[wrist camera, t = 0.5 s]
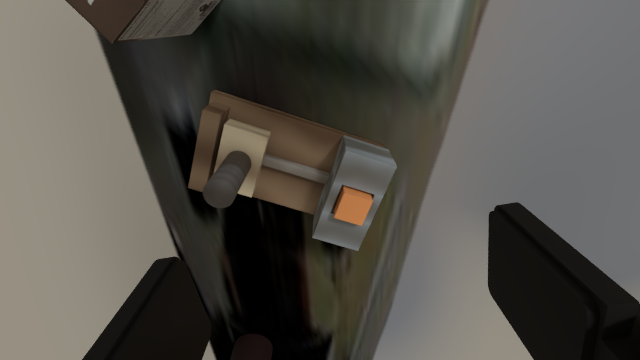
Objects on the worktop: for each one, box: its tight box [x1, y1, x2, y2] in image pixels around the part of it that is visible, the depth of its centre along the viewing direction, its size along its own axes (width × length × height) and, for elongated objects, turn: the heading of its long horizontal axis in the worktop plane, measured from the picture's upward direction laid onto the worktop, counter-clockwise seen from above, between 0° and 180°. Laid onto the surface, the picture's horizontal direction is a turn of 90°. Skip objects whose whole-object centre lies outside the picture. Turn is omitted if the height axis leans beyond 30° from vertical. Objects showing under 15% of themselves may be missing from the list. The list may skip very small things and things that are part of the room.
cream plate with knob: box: [203, 119, 271, 208], centre depth 36 cm, size 8×5×10 cm, turn 162°
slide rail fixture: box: [188, 90, 397, 251], centre depth 41 cm, size 12×22×7 cm, turn 72°
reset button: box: [334, 185, 373, 226], centre depth 39 cm, size 3×3×3 cm
